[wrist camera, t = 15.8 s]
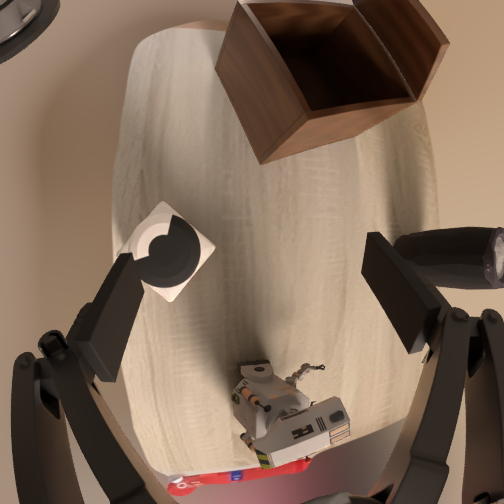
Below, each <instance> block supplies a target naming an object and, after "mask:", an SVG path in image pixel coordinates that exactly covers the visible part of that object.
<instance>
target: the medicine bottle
mask: <svg viewBox="0 0 504 504" xmlns="http://www.w3.org/2000/svg"><path fill="white" fill-rule="evenodd" d="M214 250H215V245H214V244H213V243H211V242H210V241H209V240H208V239H207V238H206V237H205V236H203V235H202V234H201V233H200V232H199V231H198V230H196V229H195V228H194V227H193V226H192V225H191V224H190V223H188V222H187V221H186V220H185V219H184V218H183V217H182V216H180V215H179V214H178V213H177V212H176V211H175V210H174V209H172V208H171V207H170V206H169V205H168V204H167V203H166V202H164V201H161V202H160V203H159V204H158V205H157V206H156V207H155V208H154V210H153V211H152V212H151V213H150V214H149V215H148V216H147V218H146V219H145V220H143V221H142V222H141V223H140V224H139V225H138V226H137V227H136V228H135V230H134V231H133V233H132V235H131V237H130V238H129V239H128V240H127V242H126V243H125V244H124V245H123V247H122V248H121V249H120V250H119V252H118V253H117V257H118V256H119V255H120V253H130V252H132V253H133V257H134V260H135V263H136V267H137V270H138V273H139V276H140V279H141V280H143V281H144V282H145V283H147V284H148V285H149V286H150V287H151V288H153V289H154V290H155V291H156V292H157V293H159V294H160V295H161V296H162V297H163V298H165V299H166V300H167V301H169V302H172V301H173V300H174V299H175V297H176V296H177V295H178V294H179V293H180V291H181V290H182V289H183V288H184V286H185V285H186V284H187V283H188V281H189V280H190V279H191V278H192V277H193V275H194V274H195V273H196V272H197V270H198V269H199V268H200V267H201V266H202V264H203V263H204V262H205V261H206V260H207V258H208V257H209V256H210V255H211V254H212V252H213V251H214Z"/></svg>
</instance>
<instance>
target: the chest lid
mask: <svg viewBox="0 0 504 504" xmlns="http://www.w3.org/2000/svg"><path fill="white" fill-rule="evenodd" d="M352 1H353V4H354V6H355V7H356V8H357V9H358V11H359V12H360V13H361V14H362V16H363V17H364V18H365V20H366V21H367V22H368V24H369V25H370V26H371V28H372V29H373V30H374V32H375V33H376V35H377V36H378V37H379V39H380V40H381V42H382V43H383V45H384V46H385V48H386V49H387V51H388V52H389V54H390V55H391V57H392V59H393V60H394V62H395V63H396V65H397V67H398V68H399V70H400V72H401V73H402V75H403V77H404V79H405V80H406V82H407V84H408V86H409V87H410V89H411V91H412V93H413V95H414V97H415V99H416V101H420V100H422V99H423V97H424V95H425V93H426V90H427V89H428V87H429V85H430V83H431V81H432V79H433V77H434V75H435V73H436V71H437V69H438V67H439V65H440V63H441V61H442V59H443V57H444V55H445V53H446V51H447V49H448V46H449V44H450V42H449V41H448V39H447V38H446V36H445V35H444V33H443V32H442V30H441V29H440V28H439V26H438V25H437V23H436V22H435V21H434V19H433V18H432V17H431V15H430V14H429V13H428V12H427V10H426V9H425V8H424V7H423V5H422V4H421V3H420V2H419V0H352Z"/></svg>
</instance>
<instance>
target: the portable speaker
mask: <svg viewBox="0 0 504 504" xmlns="http://www.w3.org/2000/svg"><path fill="white" fill-rule="evenodd" d="M393 247H394V249H395V250H396V251H397V252H398V253H399V254H400V255H401V256H402V258H403V259H404V260H405V261H406V262H407V263H408V265H409V266H410V267H411V268H412V269H413V270H414V272H415V273H421V274H423V275H424V276H426V277H427V278H429V280H430V281H431V282H432V283H433V285H434V286H438V287H448V288H458V289H498V288H504V228H501V227H498V228H486V227H485V228H484V227H460V228H449V229H437V230H429V231H423V232H417V233H411V234H409V235H402V236H401V237H400V238H398V239H397V240H396V242H395V244H394V246H393Z"/></svg>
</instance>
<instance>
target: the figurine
mask: <svg viewBox="0 0 504 504" xmlns="http://www.w3.org/2000/svg"><path fill="white" fill-rule="evenodd" d="M322 366H323V367H324V368H321V367H322ZM316 369H317V370H318V369H321V370H324V369H325V366H324V365H323V364H322V365H320V366H316V367H315V366H310V364H308V363H305V364H303V365H302V366H301V369H300V370H298V371H297V373H296V372H294V373H293V375H292V377H287V378H286V379H285V381H284V380H282V379H281V378H279V377H278V376H276V375H275V374H273V368H272V366H271V365H270V361H269V359H268V360H256V361H246V362H237V371H238V372H239V373H241V374H242V375H243V376H244V377H245V378H244V379H243V380H242V381H241V382H240V383H239V384H238V385H237V386H236V387H235V389H234V390H233V393H232V401H233V407H234V416H235V417H236V419H237V420H238V421H239V422H240V423H241V424H242V426H243V427H244V428H245V429H246V430H247V432H246V433H242V434H241V435H240V438H241V440H243V441H244V442H245V443H246V445H247V446H248V448H249V449H250V450H252V452H254V453H256V455H257V457H258V460H259V462H260V465H261V467H262V469H269V468H274V467H277V466H280V465H283V464H286V463H288V462H291V461H294V460H298V459H301V458H303V457H306V459H305V462H306V463H310V462H311V458H308V457H307V456H308V455H311V454H313V453H316V452H317V451H319V450H321V449H324V448H326V447H328V446H330V445H333V444H335V443H337V442H339V441H341V440H343V439H345V438H348V437H350V436H351V423H350V419H349V417H348V415H347V412H346V410H345V408H344V406H343V404H342V402H341V400H340V398H338V397H335V396H334V397H332V398H329V399H327V400H325V401H322V402H320V403H318V404H315V405H313V403H314V402H311V405H310V407H309V398H308V397H307V396H305V395H304V394H303V393H302V392H300V391H299V390H297V389H296V380H298V379H299V380H300V381H301V380H302V379H303V376H304V375H305V374H306V373H309V372H310V370H316ZM315 402H316V401H315Z"/></svg>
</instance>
